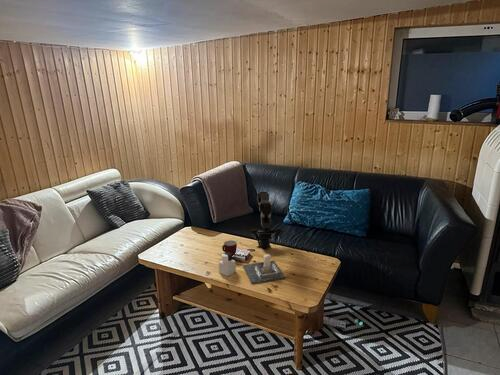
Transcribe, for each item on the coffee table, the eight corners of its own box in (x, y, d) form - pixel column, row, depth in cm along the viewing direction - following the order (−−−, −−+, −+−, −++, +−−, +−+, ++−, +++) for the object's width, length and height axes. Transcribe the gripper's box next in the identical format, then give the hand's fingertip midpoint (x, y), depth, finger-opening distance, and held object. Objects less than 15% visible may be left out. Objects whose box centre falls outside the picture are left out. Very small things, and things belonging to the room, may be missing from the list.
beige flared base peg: (259, 269, 193) (259, 254, 190) (269, 266, 196) (269, 251, 193) (264, 275, 187) (264, 259, 184) (275, 272, 189) (275, 256, 187)
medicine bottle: (227, 267, 197) (226, 249, 194) (235, 271, 193) (235, 253, 190) (218, 272, 192) (218, 254, 189) (227, 276, 188) (227, 257, 184)
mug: (218, 257, 209) (218, 243, 207) (225, 252, 216) (224, 238, 214) (233, 261, 205) (232, 246, 202) (239, 255, 212) (238, 241, 209)
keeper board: (251, 284, 180) (251, 280, 179) (242, 266, 198) (242, 262, 198) (285, 278, 185) (285, 274, 184) (273, 261, 203) (273, 258, 203)
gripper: (250, 217, 195) (250, 242, 189) (281, 215, 195) (283, 241, 188) (251, 223, 205) (252, 248, 198) (280, 222, 205) (282, 246, 198)
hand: (267, 245), depth 195 cm, fingers open, 9 cm apart
